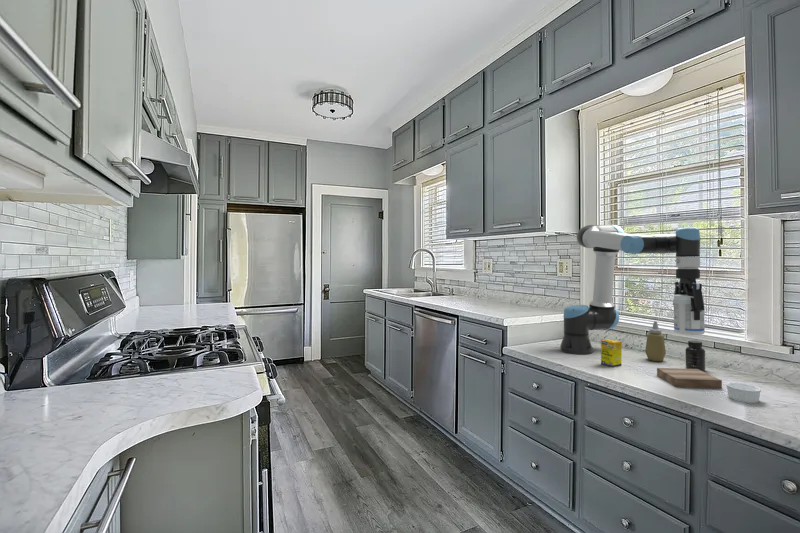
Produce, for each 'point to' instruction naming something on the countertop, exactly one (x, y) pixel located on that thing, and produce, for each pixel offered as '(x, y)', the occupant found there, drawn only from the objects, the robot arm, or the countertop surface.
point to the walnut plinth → (689, 378)
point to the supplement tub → (686, 316)
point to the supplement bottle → (695, 356)
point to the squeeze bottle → (655, 344)
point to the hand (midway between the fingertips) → (687, 326)
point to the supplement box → (611, 352)
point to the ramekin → (743, 392)
